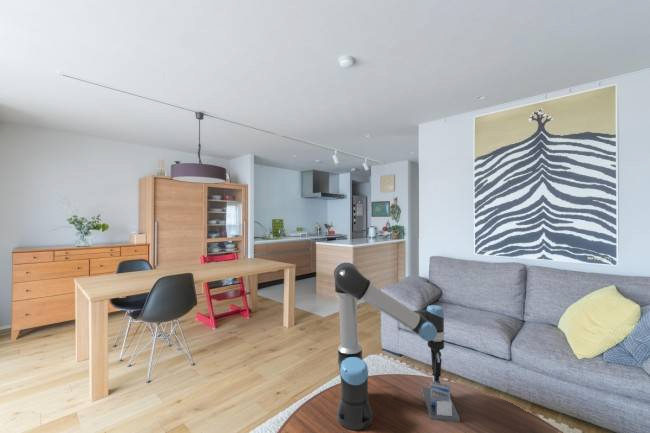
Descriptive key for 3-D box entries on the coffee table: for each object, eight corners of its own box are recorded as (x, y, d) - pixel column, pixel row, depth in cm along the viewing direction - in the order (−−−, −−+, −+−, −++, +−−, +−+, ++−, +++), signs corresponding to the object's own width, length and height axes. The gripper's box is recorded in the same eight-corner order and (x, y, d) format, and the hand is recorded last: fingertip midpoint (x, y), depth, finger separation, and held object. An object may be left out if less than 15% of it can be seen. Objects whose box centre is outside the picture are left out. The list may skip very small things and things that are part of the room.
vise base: (430, 418, 124) (429, 401, 124) (421, 390, 144) (421, 375, 145) (459, 421, 122) (459, 403, 122) (447, 392, 142) (446, 377, 143)
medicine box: (430, 405, 130) (430, 386, 131) (431, 399, 135) (431, 380, 135) (449, 410, 127) (449, 390, 127) (450, 404, 131) (449, 384, 131)
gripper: (447, 344, 132) (448, 396, 132) (440, 334, 145) (441, 381, 145) (430, 343, 134) (430, 395, 133) (425, 333, 146) (425, 380, 146)
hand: (436, 388), depth 139 cm, fingers closed
